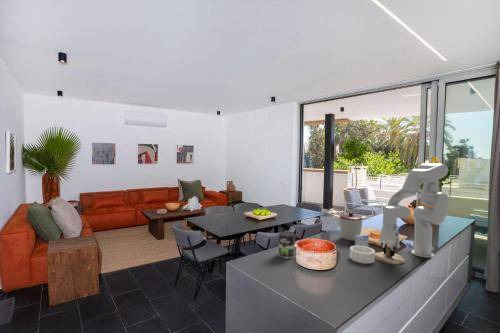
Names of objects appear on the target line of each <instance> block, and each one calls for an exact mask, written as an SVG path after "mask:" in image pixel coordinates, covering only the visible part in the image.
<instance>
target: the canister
mask: <svg viewBox="0 0 500 333" xmlns="http://www.w3.org/2000/svg"><path fill="white" fill-rule="evenodd" d="M338 219H339V229H340V230H339V231H340V236H341V238H342V239H343V240H346V241H350V242H351V241H352V242H355V238H354V237H355V235H360V234H361V235H362V228H363V221H364V218H363V217H361V216H360V215H356V214H354V213H353V212H352V211H350V212H348V214H341V215H339V216H338Z"/></svg>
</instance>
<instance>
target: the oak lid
mask: <svg viewBox="0 0 500 333" xmlns="http://www.w3.org/2000/svg"><path fill="white" fill-rule="evenodd" d="M390 250H391V246H389V245H387V247H386V254H385V255H384V252H383V251H378V252H375V261H378V262H380V263H383V264H388V265H402V264H405V261H406V259H405V258H404V257H403V256H401V255H399V254H397V253H395V255H394V256H393V257H390Z"/></svg>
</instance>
